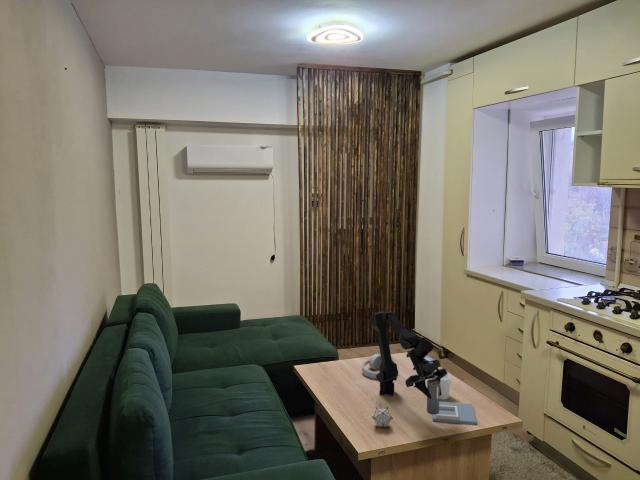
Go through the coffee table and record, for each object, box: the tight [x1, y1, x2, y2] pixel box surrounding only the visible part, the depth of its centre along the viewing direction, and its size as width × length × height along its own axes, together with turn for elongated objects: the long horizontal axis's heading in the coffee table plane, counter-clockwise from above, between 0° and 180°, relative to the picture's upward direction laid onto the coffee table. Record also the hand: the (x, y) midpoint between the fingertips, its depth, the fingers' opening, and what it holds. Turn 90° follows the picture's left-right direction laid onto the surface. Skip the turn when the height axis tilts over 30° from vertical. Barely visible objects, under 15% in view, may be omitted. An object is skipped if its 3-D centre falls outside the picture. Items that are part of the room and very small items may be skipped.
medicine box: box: [424, 355, 436, 377], centre depth 250 cm, size 8×4×9 cm, turn 25°
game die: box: [371, 406, 394, 429], centre depth 197 cm, size 9×8×10 cm
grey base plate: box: [431, 401, 478, 425], centre depth 207 cm, size 18×16×3 cm
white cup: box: [439, 374, 451, 400], centre depth 223 cm, size 8×8×10 cm
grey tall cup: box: [426, 379, 440, 415], centre depth 196 cm, size 5×5×13 cm
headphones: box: [361, 353, 396, 380], centre depth 252 cm, size 18×8×20 cm
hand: (435, 396), depth 195 cm, fingers closed on grey tall cup, 5 cm apart
